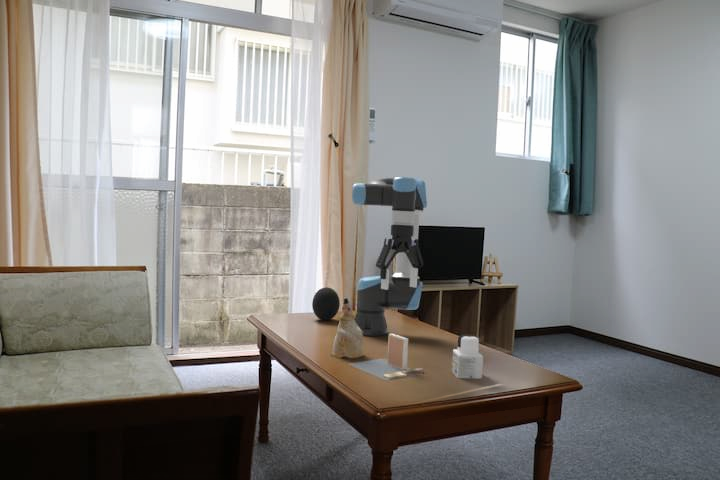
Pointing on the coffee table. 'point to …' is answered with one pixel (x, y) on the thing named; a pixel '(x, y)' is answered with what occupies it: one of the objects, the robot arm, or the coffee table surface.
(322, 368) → the coffee table surface
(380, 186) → the robot arm
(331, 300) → the decorative egg
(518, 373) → the coffee table surface
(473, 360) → the container
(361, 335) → the figurine
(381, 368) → the mat
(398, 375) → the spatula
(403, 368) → the tile
